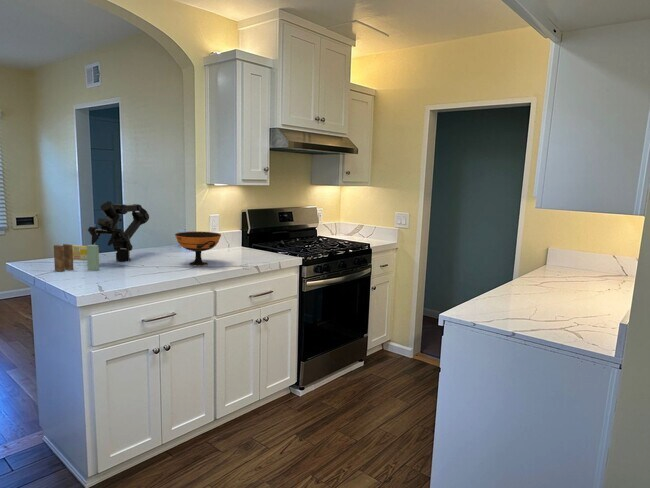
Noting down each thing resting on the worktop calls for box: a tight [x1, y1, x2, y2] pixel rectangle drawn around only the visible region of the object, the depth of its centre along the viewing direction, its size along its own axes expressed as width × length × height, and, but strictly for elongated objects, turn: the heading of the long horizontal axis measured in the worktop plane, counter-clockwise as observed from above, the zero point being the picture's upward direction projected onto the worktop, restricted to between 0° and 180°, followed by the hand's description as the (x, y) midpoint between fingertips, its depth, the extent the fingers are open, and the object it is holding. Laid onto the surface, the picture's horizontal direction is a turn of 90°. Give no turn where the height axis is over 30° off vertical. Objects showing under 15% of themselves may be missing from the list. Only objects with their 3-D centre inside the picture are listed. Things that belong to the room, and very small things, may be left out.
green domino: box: [86, 244, 100, 272], centre depth 235 cm, size 2×5×13 cm, turn 83°
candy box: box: [72, 244, 100, 261], centre depth 260 cm, size 16×2×8 cm, turn 84°
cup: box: [174, 231, 222, 267], centre depth 261 cm, size 36×26×18 cm
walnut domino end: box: [53, 244, 65, 272], centre depth 230 cm, size 2×5×13 cm, turn 61°
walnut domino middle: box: [62, 243, 74, 271], centre depth 234 cm, size 2×5×13 cm, turn 61°
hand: (100, 244), depth 240 cm, fingers open, 9 cm apart
